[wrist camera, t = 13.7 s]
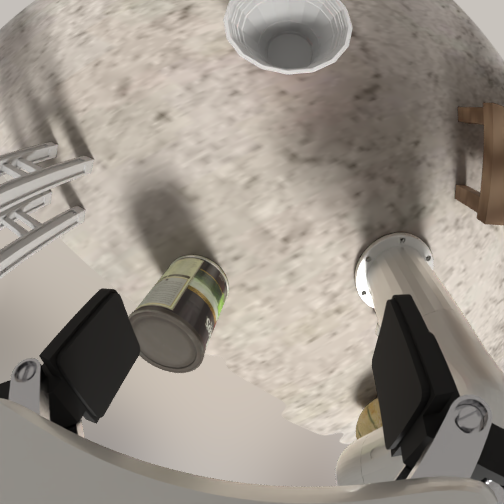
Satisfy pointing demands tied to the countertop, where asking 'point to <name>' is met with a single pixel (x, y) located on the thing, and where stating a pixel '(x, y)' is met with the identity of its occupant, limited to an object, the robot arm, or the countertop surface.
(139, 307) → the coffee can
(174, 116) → the countertop surface
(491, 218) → the walnut stool
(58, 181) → the stool
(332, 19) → the plastic cup
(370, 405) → the cantaloupe
